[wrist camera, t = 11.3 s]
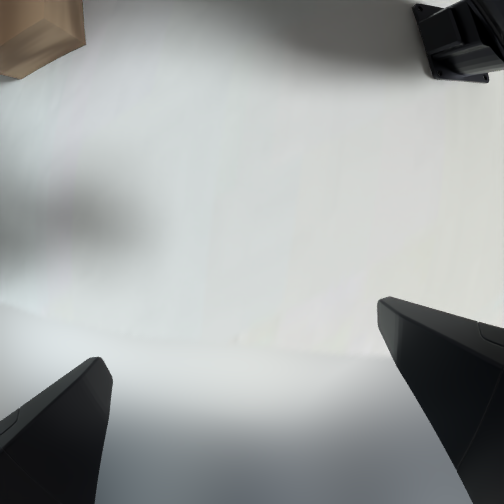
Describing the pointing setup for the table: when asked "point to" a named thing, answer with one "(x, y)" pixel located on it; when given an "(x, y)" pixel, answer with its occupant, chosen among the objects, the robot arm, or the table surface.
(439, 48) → the robot arm
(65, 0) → the walnut letter cube
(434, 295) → the table surface
